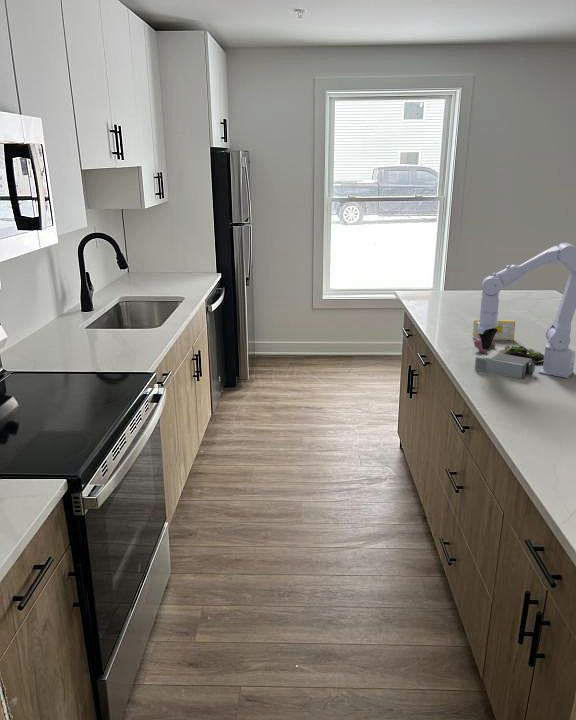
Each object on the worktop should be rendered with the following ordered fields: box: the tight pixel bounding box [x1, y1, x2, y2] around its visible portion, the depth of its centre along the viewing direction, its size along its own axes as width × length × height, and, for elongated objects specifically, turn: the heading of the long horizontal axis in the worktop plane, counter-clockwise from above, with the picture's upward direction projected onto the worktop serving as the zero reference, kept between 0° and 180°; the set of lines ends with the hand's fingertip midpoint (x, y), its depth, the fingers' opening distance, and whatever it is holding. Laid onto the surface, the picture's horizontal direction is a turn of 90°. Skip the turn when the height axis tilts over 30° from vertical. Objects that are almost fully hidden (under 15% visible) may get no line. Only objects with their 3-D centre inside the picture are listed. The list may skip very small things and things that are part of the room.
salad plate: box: [496, 344, 545, 366], centre depth 221 cm, size 19×18×5 cm
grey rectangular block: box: [491, 353, 536, 378], centre depth 205 cm, size 13×7×5 cm, turn 51°
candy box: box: [472, 319, 516, 342], centre depth 243 cm, size 16×2×8 cm, turn 74°
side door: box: [474, 355, 526, 380], centre depth 203 cm, size 17×2×5 cm, turn 51°
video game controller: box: [473, 335, 496, 354], centre depth 231 cm, size 10×5×7 cm, turn 141°
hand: (486, 348), depth 208 cm, fingers closed
